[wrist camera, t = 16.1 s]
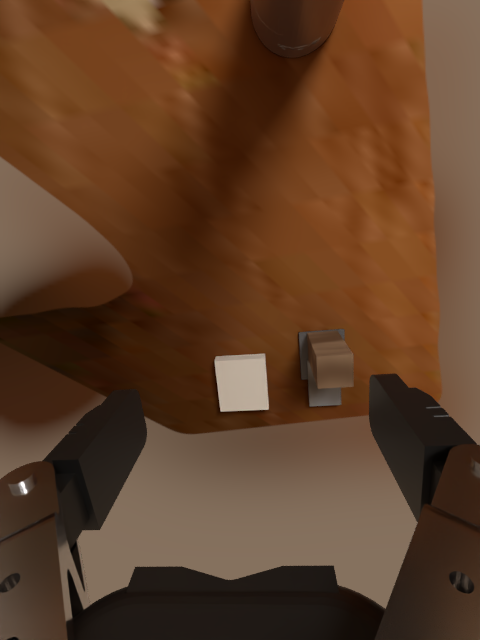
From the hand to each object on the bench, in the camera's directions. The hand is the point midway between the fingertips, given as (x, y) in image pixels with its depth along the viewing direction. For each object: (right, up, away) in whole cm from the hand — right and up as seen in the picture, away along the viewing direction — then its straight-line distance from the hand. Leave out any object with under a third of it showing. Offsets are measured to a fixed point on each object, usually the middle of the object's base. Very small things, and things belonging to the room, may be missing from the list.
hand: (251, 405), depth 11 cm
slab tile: (0, -2, +34) cm, 34 cm away
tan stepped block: (+11, -4, +34) cm, 36 cm away
